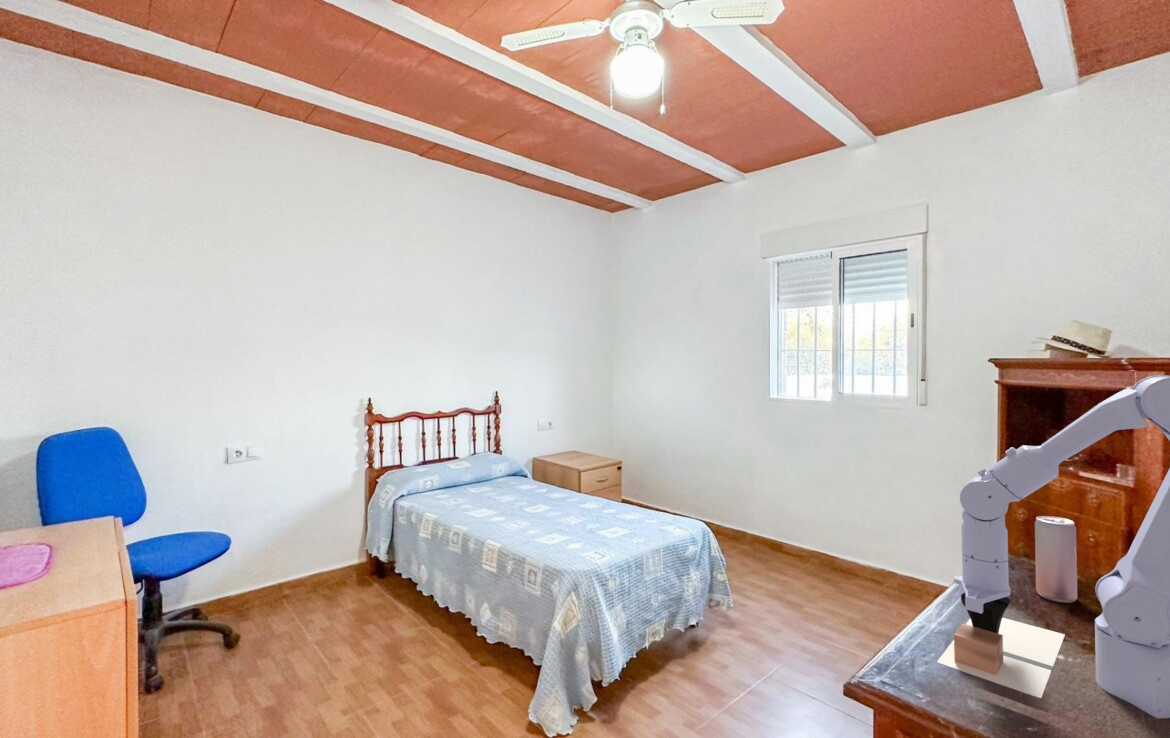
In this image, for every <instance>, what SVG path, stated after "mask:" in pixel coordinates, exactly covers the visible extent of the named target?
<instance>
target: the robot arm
mask: <svg viewBox="0 0 1170 738" xmlns="http://www.w3.org/2000/svg"><path fill="white" fill-rule="evenodd" d="M1145 419H1146V420H1148V421H1149V422H1151V423H1152V424H1154V425H1156V426H1157V427H1158V428H1159V429H1161V431H1162V433H1163V434H1164V436H1165V437H1166V438H1167V439H1168V441H1170V374H1169V375H1167V374H1166V375H1165V374H1157V375H1156V374H1155V375H1151V376H1147V377H1144V378H1143V379H1140V380H1138V382H1136V383H1135V384H1134V385H1133V387H1132V388H1129V387H1127V388H1124V389H1122V390H1120V391H1119V392H1117V393H1114V394H1113V395H1111V396H1110V397H1108V398H1106V399H1105V400H1103V401H1101V402H1099V403H1097V405H1095V406H1093V407H1092V408H1091V409H1089V410H1088V411H1087V412H1085V413H1083V415H1081V416H1079V418H1077V419H1076V420H1074V421H1072V422H1071V423H1069V424H1068V425H1067V426H1065V427H1064V428H1063V429H1062V430H1060V431H1059V432H1058V433H1056V434H1055V435H1053V436H1052V437H1050V438H1049V439H1047V440H1046V441H1045V442H1043V443H1041V445H1026V444H1025V445H1024V444H1023V445H1021V446H1020V447H1018V448H1015V447H1013V446H1012V447H1009V449H1007V450H1005V455H1006V456H1005V457H1003V458H1001V459H999V461H998V462H996V463H994V464H993V465H991V466H990V467H989V468H987V469H985V468H984V467H983V468H981V469H979V470H978V471H977V474H978V475H979V476H974V477H972V478H970V479H968V480H966V482H965V483H963V486H962V488H961V491H960V494H959V502H960V505H961V507H962V508H963V509H962V512H961V518H962V521H963V522H962V523H961V562H962V568H961V569H962V571H961V572H962V576H961V575H955V576H954V577H953V583H955V584H957V585H960V586H961V587H962V590H963V593H962V594H961V595H960V602H961V603H962V604H963V606H964V607H965V610H966V611H967V613H968V616H969V619H970V618H971V621H972V625H973V627H977V628H980V629H984V630H987V631H991V632H994V633H999V628H1000V623H1001V620H1002V618H1004V614H1005V611H1006V610H1007V609H1008V607H1009V605H1011V601H1012V600H1011V598H1009V596H1010V595H1011V588H1010V586H1009V585H1010V584H1009V538H1008V534H1009V533H1008V532H1009V531H1008V529H1007V527H1006V514H1007V512H1008V509H1009V504H1010V503H1013V502H1014V503H1015V502H1020V501H1021V500H1023V499H1025V498H1026V497H1028V496H1029V495H1031V494H1033V493H1034V492H1036V491H1037V490H1040V489H1041V488H1042V487H1044V486H1045V485H1047V484H1049V483H1050V482H1051V481H1054V480H1055V479H1057V478H1058V477H1059V475H1060V474H1059V473H1060V471H1059V469H1060V468H1059V467H1060V466H1059V465H1060V464H1061V463H1062V462H1064V461H1066V460H1067V459H1069V458H1071V457H1072V456H1074V455H1077V454H1078V453H1079V452H1081V451H1083V450H1084V449H1086V448H1088V447H1089V446H1091V445H1094V444H1095V443H1097V442H1098V441H1100V440H1102V439H1104V438H1105V437H1107V436H1108V435H1110V434H1112V433H1114V432H1116V431H1120V430H1121V431H1122V430H1131V429H1132V430H1134V429H1145V428H1149V427H1150V426H1149V424H1148V423H1147V422H1146V420H1145ZM1094 589H1095V595H1096V597H1097V599H1098V601H1099V602H1100V605H1101V608H1102V612H1101V614H1099V616H1097V617H1096V618H1094V637H1095V638H1094V644H1095V646H1094V647H1095V648H1094V649H1095V682H1096V684H1097V685H1098V686H1099V687H1100V688H1101V689H1102V690H1104V691H1105V692H1107V693H1109V694H1110V695H1112V696H1114V697H1117V698H1119V699H1121V700H1123V701H1124V702H1125V701H1126V702H1127V703H1129V704H1131V705H1133V706H1135V707H1137V708H1138V709H1140V710H1141V711H1144V712H1146V713H1147V714H1148V715H1150V716H1152V717H1154V718H1156V719H1170V467H1169V469H1168V471H1167V473H1166V474H1165V476H1164V479H1163V481H1162V482H1161V485H1160V487H1159V489H1158V491H1157V493H1156V495H1155V496H1154V499H1153V501H1152V503H1151V504H1150V507H1149V508H1148V510H1147V513H1146V515H1145V517H1144V519H1143V521H1142V523H1141V525H1140V527H1139V529H1138V531H1137V533H1136V535H1135V537H1134V539H1133V540H1132V543H1131V545H1130V547H1129V549H1128V551H1127V553H1126V554H1125V555H1124V556H1123V557H1122V558H1121V559H1119V560H1118V561H1117V563H1116V565H1115V566H1114V569H1112V570H1111V571H1110V572H1109V573H1107V574H1105V575H1103V576H1102V577H1100V578H1099V580H1097V582H1096V584H1095V588H1094Z"/></svg>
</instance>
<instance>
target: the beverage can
mask: <svg viewBox="0 0 1170 738" xmlns="http://www.w3.org/2000/svg"><path fill="white" fill-rule="evenodd" d="M1075 524H1076V523H1075V522H1074V521H1073V520H1072V519H1071V520H1070V519H1068V518H1063V517H1059V516H1050V515H1039V516H1036V517H1035V522H1034V540H1035V542H1034V544H1035V545H1034V549H1035V551H1034V553H1035V590H1036V592H1037V593H1038V595H1039V596H1041V598H1042V597H1043V598H1044V599H1047V600H1050V601H1054V602H1057V603H1064V604H1067V603H1068V604H1069V603H1070V604H1071V603H1073V602H1076V601H1077V599H1078V571H1077V570H1078V568H1077V567H1078V566H1077V565H1078V564H1077V563H1078V562H1077V559H1078V558H1077V557H1078V556H1077V528H1076V526H1075Z"/></svg>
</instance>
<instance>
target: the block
mask: <svg viewBox="0 0 1170 738" xmlns="http://www.w3.org/2000/svg"><path fill="white" fill-rule="evenodd" d="M953 640H954V659H955V661H956V662H959V663H962V664H965V665H968V666H971V667H974V668H977V669H979V670H982V671H985V672H988V673H991V674H994V675H996V674H997V672H998V670H999V668H1000V666H1001V665H1002V663H1003V635H1001V634H998V633H994V632H991V631H987V630H984V629H980V628H977V627H973V626H970V625H967V624H966V623H962V624H961V625H960V626H959V627H958V629H957V630H956V631H955V633H954V635H953Z"/></svg>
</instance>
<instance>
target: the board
mask: <svg viewBox="0 0 1170 738" xmlns="http://www.w3.org/2000/svg"><path fill="white" fill-rule="evenodd" d="M965 624H967V625H970V626H973V625H972V621H971V618H970V617H969V619H968V620H967V621H966V623H965ZM998 634H1001V635H1003V663H1002V665H1001V666H1000V668H999V670H998V672H997V674H996V675H994V674H991V673H988V672H985V671H982V670H979V669H977V668H974V667H971V666H968V665H965V664H962V663H959V662H956V661H955V659H954V639H952V641H951V642H950V644H949V645H948V647H946V649H945V650H944V652H943V653H942V655H941V656H939V659H938V660H937V661H936V663H937V664H939V665H940V664H941V665H943V666H945V667H946V666H947V667H949V668H952V669H955V670H958V671H960V672H963V673H966V674H970V675H972V676H975V677H978V678H980V679H983V680H987V681H990V682H992V683H995V684H998V685H1001V686H1003V687H1006V688H1010V689H1012V690H1016V691H1018V692H1020V693H1021V692H1022V693H1024V694H1026V695H1029V696H1033V697H1036V698H1038V699H1042V697H1043V694H1044V693H1045V690H1046V686H1047V684H1048V682H1049V680H1050V676H1051V674H1052V671H1053V667H1054V665H1055V662H1056V660H1057V657H1058V654H1059V653H1060V652H1059V651H1060V650H1061V646H1062V644H1063V641H1064V640H1065V639H1064V638H1065V636H1066V634H1065V633H1061V632H1057V631H1053V630H1050V629H1048V628H1047V629H1046V628H1042V627H1040V626H1036V625H1031V624H1027V623H1024V622H1021V621H1016V620H1013V619H1010V618H1005V617H1002V620H1001V623H1000V628H999V633H998Z"/></svg>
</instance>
